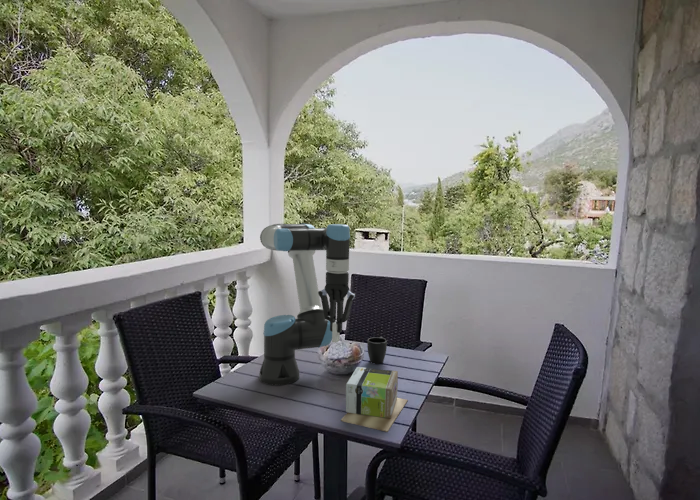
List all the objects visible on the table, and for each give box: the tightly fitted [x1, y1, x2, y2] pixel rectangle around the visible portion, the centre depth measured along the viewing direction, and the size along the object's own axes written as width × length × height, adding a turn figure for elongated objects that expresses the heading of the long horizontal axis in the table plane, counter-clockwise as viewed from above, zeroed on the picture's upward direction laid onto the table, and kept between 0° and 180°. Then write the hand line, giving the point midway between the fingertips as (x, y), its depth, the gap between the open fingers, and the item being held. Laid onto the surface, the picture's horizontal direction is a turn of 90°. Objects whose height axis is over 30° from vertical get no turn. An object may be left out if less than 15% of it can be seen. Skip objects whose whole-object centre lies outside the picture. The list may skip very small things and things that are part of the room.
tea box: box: [345, 366, 399, 418], centre depth 137 cm, size 15×10×15 cm
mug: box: [366, 336, 388, 365], centre depth 180 cm, size 8×12×10 cm
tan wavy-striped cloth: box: [340, 397, 408, 433], centre depth 135 cm, size 15×22×1 cm
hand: (335, 341), depth 139 cm, fingers closed
